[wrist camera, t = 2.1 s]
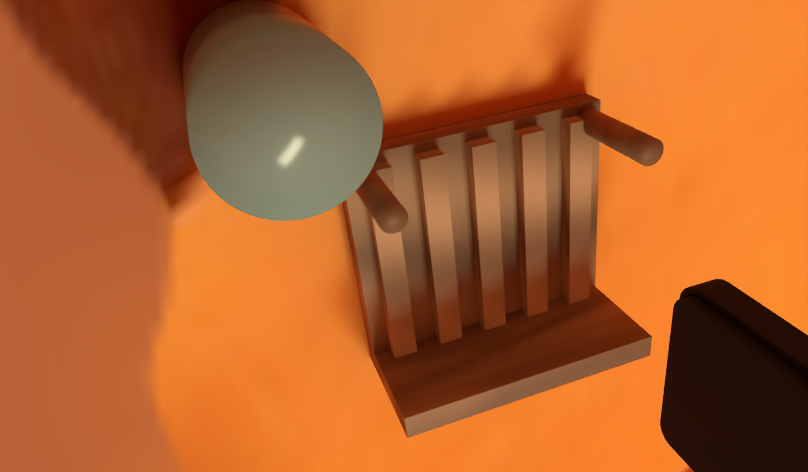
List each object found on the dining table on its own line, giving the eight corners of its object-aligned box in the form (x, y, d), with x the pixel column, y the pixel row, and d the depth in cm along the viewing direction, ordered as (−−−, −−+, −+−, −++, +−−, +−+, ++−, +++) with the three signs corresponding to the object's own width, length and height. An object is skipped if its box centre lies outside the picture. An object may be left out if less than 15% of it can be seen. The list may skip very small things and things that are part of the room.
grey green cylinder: (162, 13, 25) (162, 53, 18) (315, -13, 26) (368, 15, 19) (204, 158, 28) (217, 240, 21) (340, 128, 29) (394, 196, 22)
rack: (333, 152, 29) (370, 205, 24) (586, 93, 32) (668, 130, 27) (371, 358, 35) (407, 437, 30) (582, 293, 38) (650, 355, 33)
